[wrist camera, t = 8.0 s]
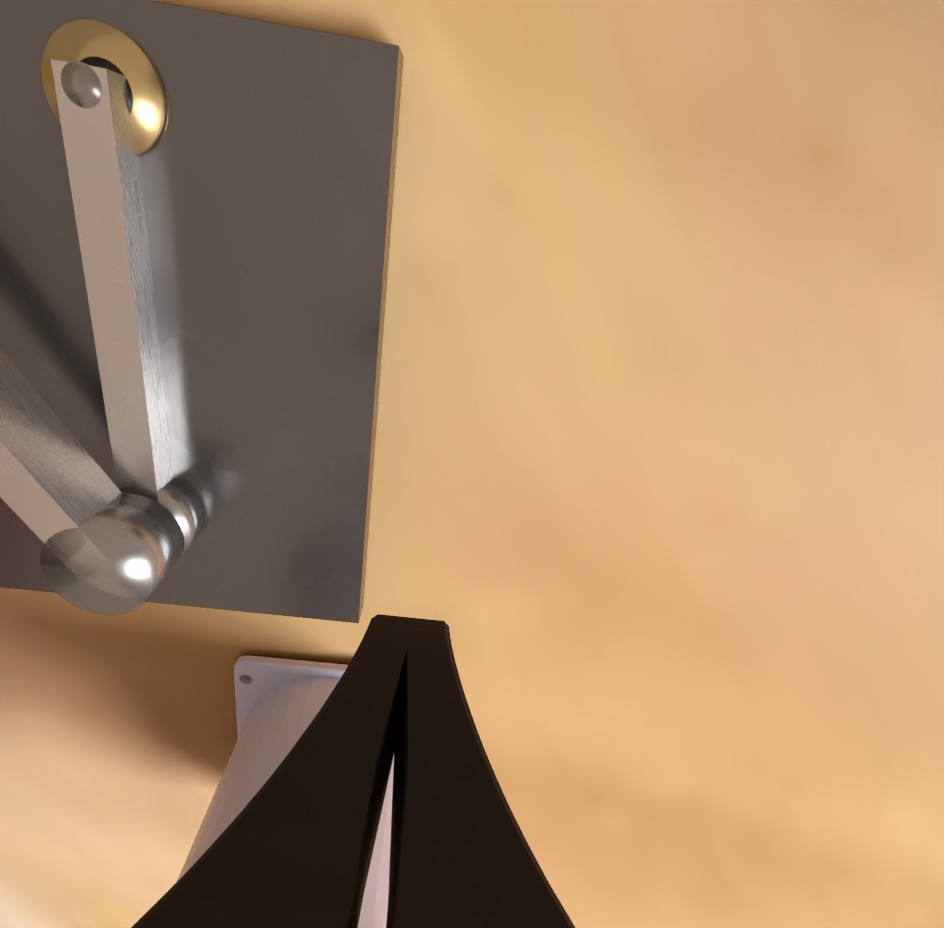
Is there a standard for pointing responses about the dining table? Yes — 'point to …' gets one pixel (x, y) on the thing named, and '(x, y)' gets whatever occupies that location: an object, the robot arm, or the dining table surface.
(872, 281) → the dining table surface
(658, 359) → the dining table surface
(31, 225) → the plate
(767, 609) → the dining table surface
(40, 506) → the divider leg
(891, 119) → the dining table surface
